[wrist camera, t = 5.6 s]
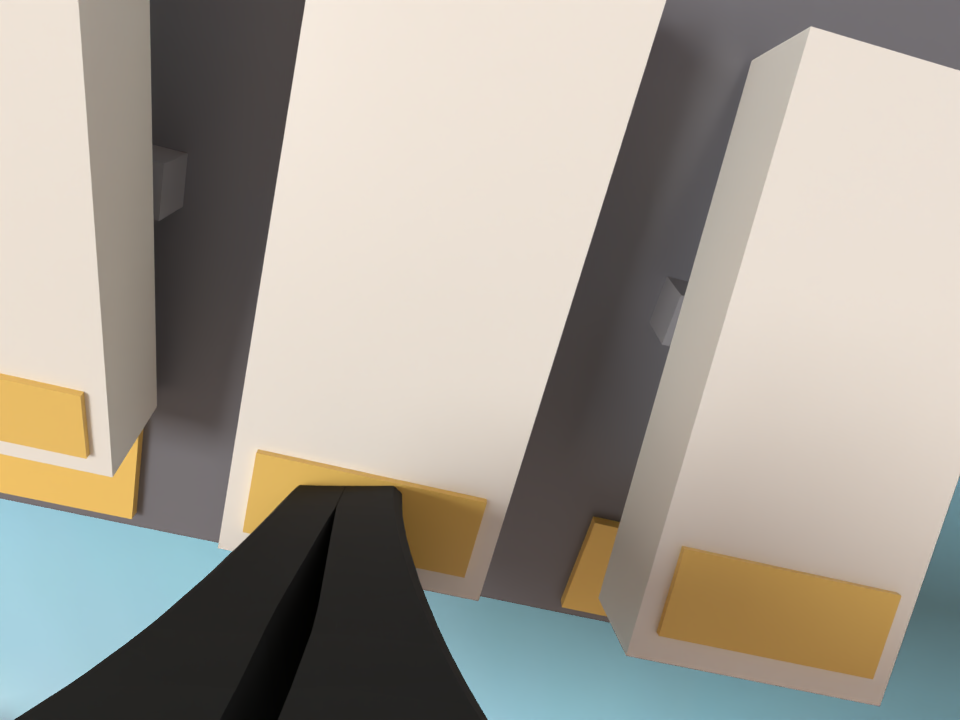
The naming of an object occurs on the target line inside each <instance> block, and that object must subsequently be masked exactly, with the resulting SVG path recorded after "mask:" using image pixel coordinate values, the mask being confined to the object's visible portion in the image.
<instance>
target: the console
mask: <svg viewBox="0 0 960 720" xmlns="http://www.w3.org/2000/svg"><path fill="white" fill-rule="evenodd" d="M305 1H306V0H150V49H151V104H152V159H153V214H154V269H155V324H156V379H157V407H156V409H155V411H154V412H153V414H152V415H151V417H150V419H149V420H148V422H147V423H146V425H145V427H144V428H143V430H142V431H141V433H140V435H139V436H138V438H137V439H136V441H135V443H134V444H133V446H132V447H131V449H130V451H129V452H128V454H127V455H126V457H125V458H124V460H123V462H122V463H121V465H120V466H119V468H118V470H117V471H116V473H115V474H114V476H113V477H109V476H104V475H99V474H94V473H89V472H85V471H80V470H75V469H70V468H66V467H61V466H56V465H51V464H47V463H42V462H37V461H32V460H27V459H23V458H18V457H13V456H8V455H4V454H0V498H1V499H6V500H11V501H16V502H21V503H26V504H31V505H36V506H41V507H46V508H51V509H55V510H60V511H65V512H70V513H75V514H80V515H85V516H90V517H95V518H100V519H105V520H109V521H114V522H119V523H124V524H129V525H134V526H139V527H144V528H149V529H154V530H158V531H163V532H168V533H173V534H178V535H183V536H188V537H193V538H198V539H203V540H208V541H212V542H217V543H219V538H220V532H221V526H222V519H223V513H224V507H225V501H226V494H227V488H228V482H229V476H230V469H231V463H232V457H233V451H234V444H235V438H236V432H237V426H238V419H239V413H240V407H241V401H242V394H243V388H244V382H245V376H246V369H247V363H248V357H249V351H250V345H251V338H252V332H253V326H254V320H255V313H256V307H257V301H258V295H259V288H260V282H261V276H262V270H263V263H264V257H265V251H266V245H267V238H268V232H269V226H270V220H271V213H272V207H273V201H274V195H275V188H276V182H277V176H278V170H279V163H280V157H281V151H282V145H283V138H284V132H285V126H286V120H287V113H288V107H289V101H290V95H291V89H292V82H293V76H294V70H295V64H296V57H297V51H298V45H299V39H300V32H301V26H302V20H303V14H304V7H305ZM811 26H812V27H815V28H818V29H822V30H825V31H829V32H832V33H835V34H839V35H842V36H845V37H849V38H852V39H855V40H859V41H862V42H865V43H869V44H872V45H875V46H879V47H882V48H886V49H889V50H892V51H896V52H899V53H902V54H906V55H909V56H912V57H916V58H919V59H922V60H926V61H929V62H933V63H936V64H939V65H943V66H946V67H949V68H953V69H956V70H959V71H960V0H666V3H665V6H664V9H663V12H662V16H661V19H660V22H659V25H658V28H657V32H656V35H655V38H654V41H653V44H652V48H651V51H650V54H649V57H648V60H647V64H646V67H645V70H644V73H643V76H642V80H641V83H640V86H639V89H638V92H637V95H636V99H635V102H634V105H633V108H632V111H631V115H630V118H629V121H628V124H627V127H626V131H625V134H624V137H623V140H622V143H621V147H620V150H619V153H618V156H617V159H616V163H615V166H614V169H613V172H612V175H611V179H610V182H609V185H608V188H607V191H606V195H605V198H604V201H603V204H602V207H601V211H600V214H599V217H598V220H597V223H596V227H595V230H594V233H593V236H592V239H591V243H590V246H589V249H588V252H587V255H586V259H585V262H584V265H583V268H582V271H581V275H580V278H579V281H578V284H577V287H576V291H575V294H574V297H573V300H572V303H571V307H570V310H569V313H568V316H567V319H566V322H565V326H564V329H563V332H562V335H561V338H560V342H559V345H558V348H557V351H556V354H555V358H554V361H553V364H552V367H551V370H550V374H549V377H548V380H547V383H546V386H545V390H544V393H543V396H542V399H541V402H540V406H539V409H538V412H537V415H536V418H535V422H534V425H533V428H532V431H531V434H530V438H529V441H528V444H527V447H526V450H525V454H524V457H523V460H522V463H521V466H520V470H519V473H518V476H517V479H516V482H515V486H514V489H513V492H512V495H511V498H510V502H509V505H508V508H507V511H506V514H505V518H504V521H503V524H502V527H501V530H500V534H499V537H498V540H497V543H496V546H495V550H494V553H493V556H492V559H491V562H490V565H489V569H488V572H487V575H486V578H485V581H484V585H483V588H482V591H481V594H480V596H482V597H487V598H492V599H497V600H502V601H507V602H512V603H517V604H522V605H527V606H531V607H536V608H541V609H546V610H551V611H556V612H561V613H566V614H571V615H576V616H581V617H585V618H590V619H595V620H600V621H605V622H610V621H609V619H608V617H607V615H606V613H605V611H604V609H603V607H602V605H601V602H600V600H599V594H600V591H601V587H602V584H603V580H604V577H605V573H606V570H607V566H608V563H609V559H610V556H611V552H612V549H613V545H614V542H615V538H616V535H617V531H618V528H619V524H620V521H621V517H622V514H623V510H624V507H625V503H626V500H627V496H628V493H629V489H630V486H631V482H632V479H633V475H634V471H635V468H636V464H637V461H638V457H639V454H640V450H641V447H642V443H643V440H644V436H645V433H646V429H647V426H648V422H649V419H650V415H651V412H652V408H653V405H654V401H655V398H656V394H657V391H658V387H659V384H660V380H661V377H662V373H663V370H664V366H665V363H666V359H667V356H668V352H669V349H670V345H671V342H672V338H673V335H674V331H675V328H676V324H677V321H678V317H679V314H680V310H681V307H682V303H683V300H684V296H685V293H686V289H687V286H688V282H689V279H690V275H691V272H692V268H693V265H694V261H695V258H696V254H697V250H698V247H699V243H700V240H701V236H702V233H703V229H704V226H705V222H706V219H707V215H708V212H709V208H710V205H711V201H712V198H713V194H714V191H715V187H716V184H717V180H718V177H719V173H720V170H721V166H722V163H723V159H724V156H725V152H726V149H727V145H728V142H729V138H730V135H731V131H732V128H733V124H734V121H735V117H736V114H737V110H738V107H739V103H740V100H741V96H742V93H743V89H744V86H745V82H746V79H747V75H748V72H749V68H750V65H751V61H752V60H753V59H755V58H757V57H759V56H760V55H762V54H764V53H766V52H767V51H769V50H771V49H772V48H774V47H776V46H778V45H779V44H781V43H783V42H785V41H786V40H788V39H790V38H791V37H793V36H795V35H797V34H798V33H800V32H802V31H804V30H805V29H807V28H809V27H811Z"/></svg>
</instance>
